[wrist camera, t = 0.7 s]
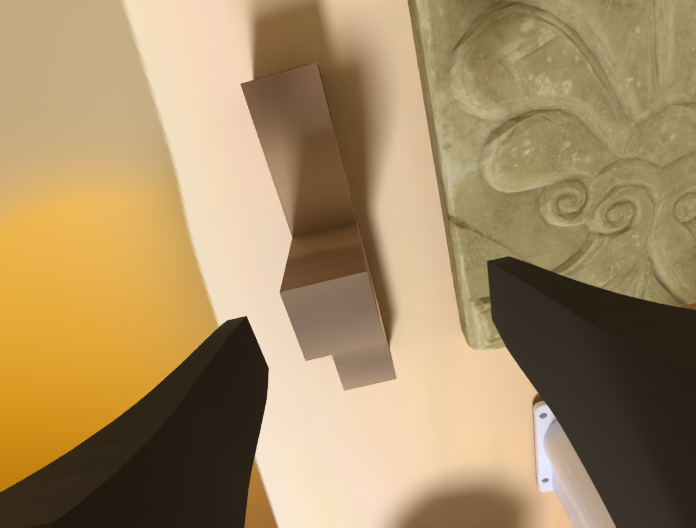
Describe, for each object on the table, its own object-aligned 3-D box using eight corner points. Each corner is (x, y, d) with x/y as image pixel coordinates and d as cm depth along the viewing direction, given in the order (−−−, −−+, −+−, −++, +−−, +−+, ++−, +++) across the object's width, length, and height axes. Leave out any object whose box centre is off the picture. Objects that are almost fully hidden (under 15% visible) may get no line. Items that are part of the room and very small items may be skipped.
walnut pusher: (388, 345, 24) (415, 459, 17) (342, 355, 24) (348, 473, 17) (318, 65, 17) (310, 52, 10) (254, 83, 17) (200, 84, 10)
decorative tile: (456, 329, 24) (475, 368, 21) (388, -66, 15) (403, -105, 12) (767, 255, 22) (839, 284, 19) (883, -226, 14) (1048, -318, 11)
